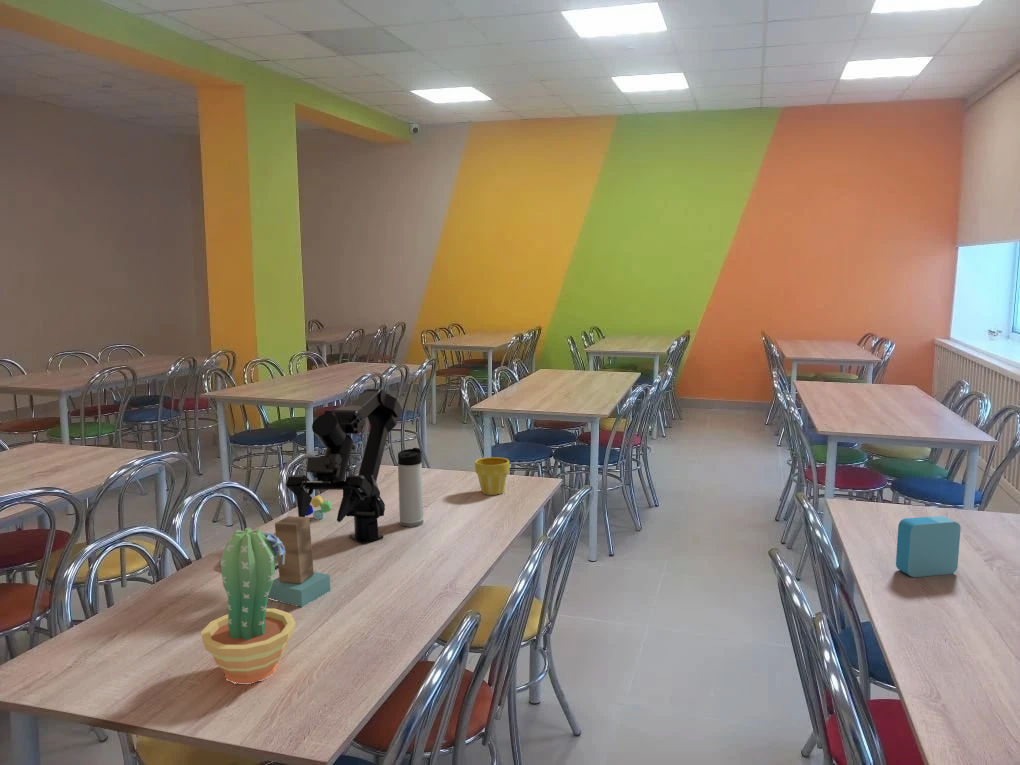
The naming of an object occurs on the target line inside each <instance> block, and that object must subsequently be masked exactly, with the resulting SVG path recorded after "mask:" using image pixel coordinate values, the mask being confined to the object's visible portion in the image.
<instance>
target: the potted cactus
mask: <svg viewBox="0 0 1020 765" xmlns="http://www.w3.org/2000/svg"><path fill="white" fill-rule="evenodd" d="M243 530H244V531H243ZM243 530H239V529H236V530H235V531H234V533H233V534H232V536H231V537H230V538H229V540H228V542H227V543H226V544H225V547H224V550H223V552H222V557H221V559H220V561H219V562H220V571H221V580H222V585H223V587H224V590H225V593H226V596H227V601H228V602H227V604H228V605H227V608H228V609H227V610H228V611H227V614H225V615H223V616H220V617H218V618H216V619H214V620H212V621H210V622H209V623H208V624H207V625H206V626H205V627H204V628H203V629H202V631H200V635H201V639H202V643H203V645H204V650H205V651H207V652H209V653H210V654H211V656H212V658H213V660H214V662H215V664H216V665H217V667H218V668H220V670H221V671H223V674H224V673H225V676H224V678H225V677H226V679H228V680H230V681H233V682H236V683H237V682H238V683H252V682H256V681H259V680H262V679H265V678H266V677H268V676H270V675H271V674H273V673H274V672H275V671H276V669H277V668H278V666H279V664H278V662H279V660H280V659H281V658H282V656H283V654H284V653H285V651H286V650H287V646H288V643H289V639H291V637H292V635H293V633H295V629H296V623H297V622H296V621H295V618H294V617H293V615H292V613H290V612H287V611H284V610H282V609H281V610H280V609H277V608H271V607H270V608H269V607H268V601H269V600H268V595H269V593H270V590H271V587H272V584H273V582H274V580H275V572H276V567H275V558H276V557H277V556H278V555H279V556H281V560H282V565H284V564H285V547H284V545H283V544H282V542H281V541H280V539H279V538H278V537H276V536H275V535H274V533H272V532H270V531H267V532H266V533H265V532H263V531H262V530H261V529H259V528H257V529H254V530H252V528H251V527H250V526H249V527H246V528H245V529H243ZM267 607H268V608H267Z"/></svg>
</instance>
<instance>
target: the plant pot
mask: <svg viewBox="0 0 1020 765" xmlns="http://www.w3.org/2000/svg"><path fill="white" fill-rule="evenodd" d="M474 469H475V470H474V471H475V473H476V474H477V477H478V478H477V479H478V482H479V485H480V489H481V493H482V494H483V495H486V494H487V496H498V495H497V494H499V495H502V494H504V493H505V487H506V483H507V482H506V481H507V478H508V474H509V472H510V460H509V459H508V458H506V457H499V456H497V457H496V456H490V457H489V456H488V457H482V458H478V459H476V460H475V461H474ZM501 493H502V494H501Z"/></svg>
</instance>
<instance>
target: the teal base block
mask: <svg viewBox="0 0 1020 765" xmlns="http://www.w3.org/2000/svg"><path fill="white" fill-rule="evenodd" d="M330 578H331V575H330V574H329V573H328V574H327V573H322V572H318V571H314V575H312V576H311V577H309V578H308V579H306V580H305V581H304V582H302V583H291V582H280V577H279V576H278V577H277V578H274V582H273V584H272V587H271V590H270V593H269V595H268V598H271V599H274V600H278V601H282V602H285V603H289V604H293V605H297V606H301V607H300V608H304V607H305V606H304V605H306V604H307V605H309V604H310V603H309V602H311V601H312V602H314V601H316V600H318V599H319V598H321V597H323V596H325V595H326V594H328V593H329V592H331V579H330ZM327 592H328V593H327ZM325 593H326V594H325ZM322 595H323V596H322ZM318 597H319V598H318ZM317 598H318V599H317ZM315 599H316V600H315ZM313 600H314V601H313ZM312 602H311V603H312ZM308 603H309V604H308ZM289 604H288V605H289ZM293 605H292V606H293ZM307 605H306V606H307ZM297 606H296V607H297ZM303 606H304V607H303Z"/></svg>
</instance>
